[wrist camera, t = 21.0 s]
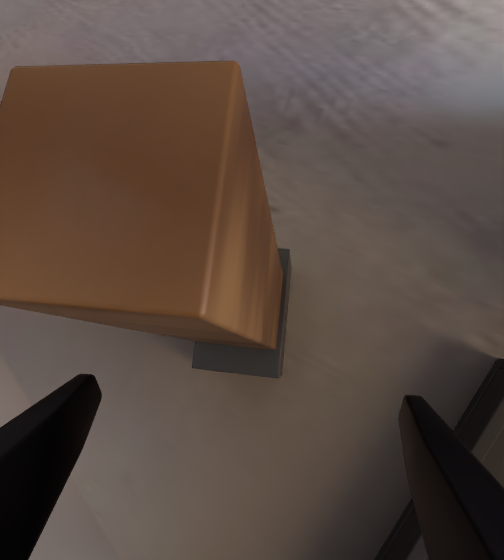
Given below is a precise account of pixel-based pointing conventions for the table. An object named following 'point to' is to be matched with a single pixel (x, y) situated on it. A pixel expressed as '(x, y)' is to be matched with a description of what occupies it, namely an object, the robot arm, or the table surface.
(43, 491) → the robot arm
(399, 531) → the pan
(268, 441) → the table surface
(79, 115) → the wooden block on stand
